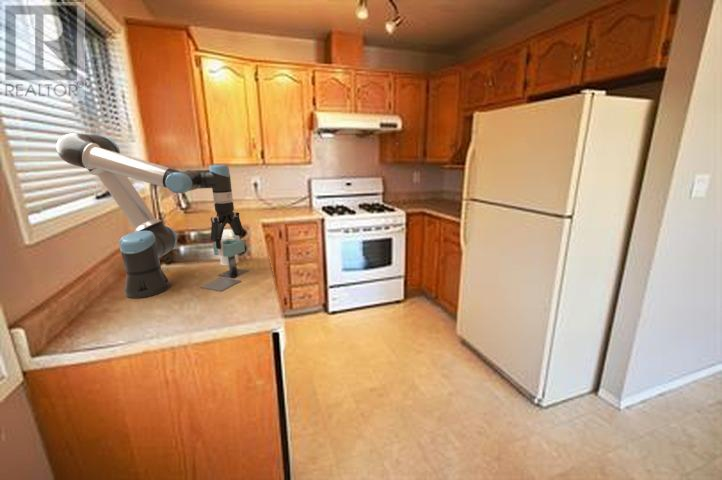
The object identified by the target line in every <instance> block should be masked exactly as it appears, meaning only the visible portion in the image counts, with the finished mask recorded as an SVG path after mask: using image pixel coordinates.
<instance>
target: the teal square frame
mask: <svg viewBox="0 0 722 480" xmlns="http://www.w3.org/2000/svg"><path fill="white" fill-rule="evenodd" d="M212 247H213V254H214V256H218V257H220V256H219V255H218V249H217V248H216V242H214V243H212ZM223 248H224V255H225V257H232V256H234V255H239V254H241V253H244V252H246V249H245V241H244V239H243V240H242V239H241V240H235V239H226V240H223Z"/></svg>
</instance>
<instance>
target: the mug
mask: <svg viewBox="0 0 722 480" xmlns="http://www.w3.org/2000/svg"><path fill="white" fill-rule="evenodd" d="M226 239H234V237H229V238H228V237H227V238H221V241H223V240H226ZM238 255H239V254H237V255H235V260H236V264H238V263H239V262H240V260H239V256H238ZM219 257H220V258H219V259H220V265H221V266H229V262H228V257H225V256H219Z"/></svg>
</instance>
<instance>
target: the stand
mask: <svg viewBox="0 0 722 480" xmlns="http://www.w3.org/2000/svg"><path fill="white" fill-rule="evenodd" d="M228 262H229V265H228V266H229V267H228V268H229V270H226V271H224V272H222V273H219V274H217V275H216V277H220V278H221V277H223V278H229V279H237V278H238V277H240V276H243V275H244V274H247V273H248V272H250V270H247V269H241V268H238V267H237V263H236V260H235V255H234V256H232V257H228Z"/></svg>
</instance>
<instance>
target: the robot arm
mask: <svg viewBox="0 0 722 480" xmlns="http://www.w3.org/2000/svg"><path fill="white" fill-rule="evenodd" d="M55 146H56V147H55V148H56V152H57V154H58V156H59V157H60V158H61V159H62V160H63V161H64V162H66V163H67V164H70V165H72V166H77V167H80V168H84V169H87V170H88V172H89V173H90V174H91V175H94V176H97V177H98V178H99V180H100V181H101V183H102V184H103V185H104V187H105V188H106V189H107V191H108V193H109V194H110V195H111V197H112V199H113V200H114V202H115V203H116V204H117V206H118V207H119V208H120V210H121V211H122V213H123V214H124V215H125V216H126V218H127V220H128V221H129V223H130V224H131V225H132V227H133V228H134V230H133V232H130V233H127V234H124V235H123V236H122V237H121V238H120V239H119V240H118V242H119V250H120V254H121V257H122V260H123V265H124V270H125V274H126V278H125V286H124V294H125V296H126V298H131V299H138V298H139V299H140V298H147V297H151V296H155V295H158V294H160V293H163V292H166V291H167V290H168V289H169V288H170V286H171V285H170V281H169V279H168V277H167V275H166V274H165V273H164V271H163V269H162V266H161V262H160V260H161V259H160V258H161V257H163V256H165V255H167V254H169V253H170V252H172V250H173V249H175V247H176V246H177V243H178V235H177V233H176V231H175V230H174V229H173V228H171V227H170V226H167V225H165V224H164V222H163V221H162V219H157V218H156V217H155V216H154V214H153V213H152V212H151V210H150V208H149V207H148V206H147V203H145V201H144V199H143V198H142V196H141V195H140V193H139V192H138V190H137V188H135V186H134V184H133V183H132V182H131V180H130V179H134V180H136V181H137V180H138V181H141V182H143V183H147V184H152V185H155V186H158V187H161V188H166V189H168V190H169V191H170V192H172V193H174V194H185V193H188V192H190V191H193V190H197V189H201V190H202V189H211V191H212V196H213V197H212V198H213V202H214V211H215V212H216V216H214V217H213V216H212V217H210V222H211V228H210V229H211V230H210V240H211V242H214V243H216V248H217V249H218V255H219V256H218V255H217V256H218V257H220V256H225V255H224V248H223V241H221V239H223V234H224V230H225V227H226V225H227V224H228V225H229V227H230V228H231V230H232V232H233V234H234V235H233V238H234V239H235V240H242V239H241V236H242V235H243V234H244V229H243V225H242V221H241V219H240V212H238V211H237V212H234V210H235V206H234V202H233V199H234V198H233V192H232V191H233V190H232V181H231V173H230V167H229V166H228V165H226V164H210V165H209V167H208V169H206V170H204V169H203V170H202V169H201V170H200V169H199V170H198V169H196V170H195V169H194V170H193V169H192V170H191V169H187V170H181V171H180V170H177V169H174V168H171V167H168V166H164V165H161V164H157V163H153V162H151V161H147V160H143V159H141V158H136V157H132V156H131V155H126V154H124V153H121V150H120V148H119V146H118V144H117V143H116V142H115V141H114V140H113V139H111V138H109V137H107V136H104V135H100V134H97V133H96V134H93V133H92V134H91V133H90V134H87V133H86V134H85V133H77V132H76V133H75V132H73V133H67V134H64V135H62V136H61V137H59V138H58V140H57V142H56V145H55Z"/></svg>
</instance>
